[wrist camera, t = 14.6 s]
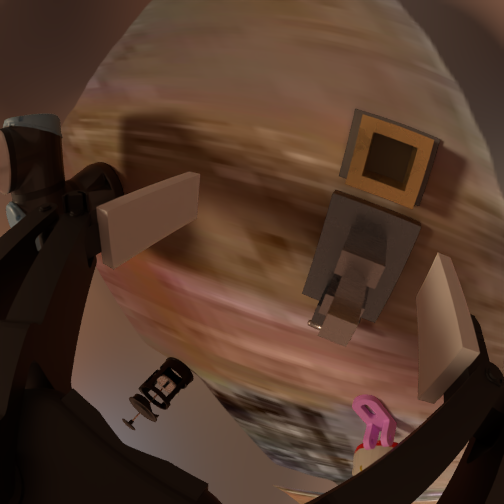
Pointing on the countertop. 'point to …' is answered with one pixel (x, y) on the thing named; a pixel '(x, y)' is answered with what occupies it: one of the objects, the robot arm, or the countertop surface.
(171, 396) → the french press
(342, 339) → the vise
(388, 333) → the countertop surface
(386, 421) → the bracket
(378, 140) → the rubber mat
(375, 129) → the orange-brown square frame
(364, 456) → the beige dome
